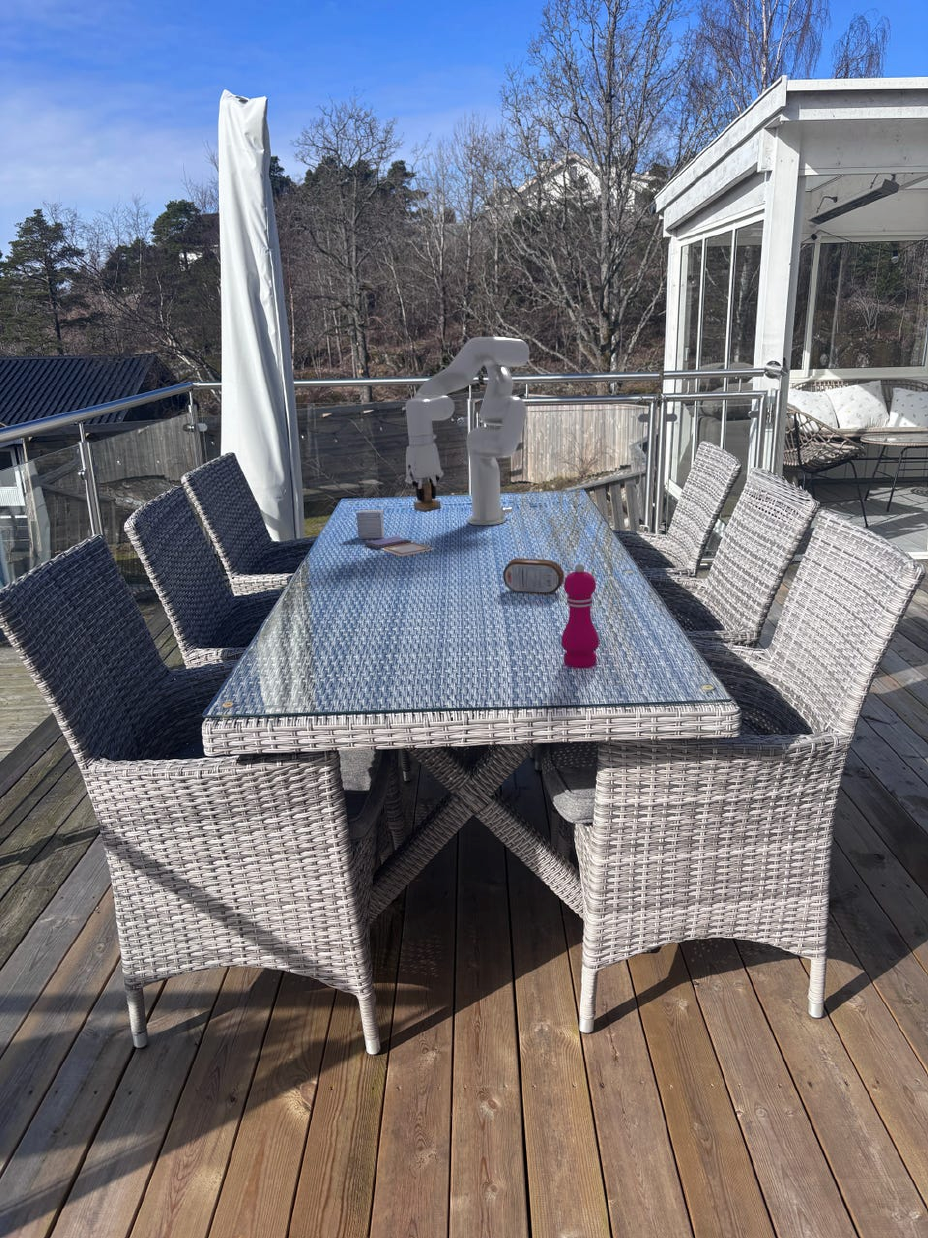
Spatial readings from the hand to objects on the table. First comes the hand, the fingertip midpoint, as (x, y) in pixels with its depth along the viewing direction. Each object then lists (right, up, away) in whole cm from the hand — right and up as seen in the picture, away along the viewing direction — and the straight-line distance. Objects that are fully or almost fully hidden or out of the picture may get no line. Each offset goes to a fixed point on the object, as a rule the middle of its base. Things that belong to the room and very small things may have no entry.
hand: (426, 499), depth 277 cm
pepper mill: (+34, -46, -103) cm, 118 cm away
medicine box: (-18, -11, +10) cm, 24 cm away
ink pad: (-12, -14, 0) cm, 19 cm away
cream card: (-5, -16, -8) cm, 19 cm away
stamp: (0, -3, +1) cm, 3 cm away
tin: (+29, -31, -56) cm, 71 cm away
